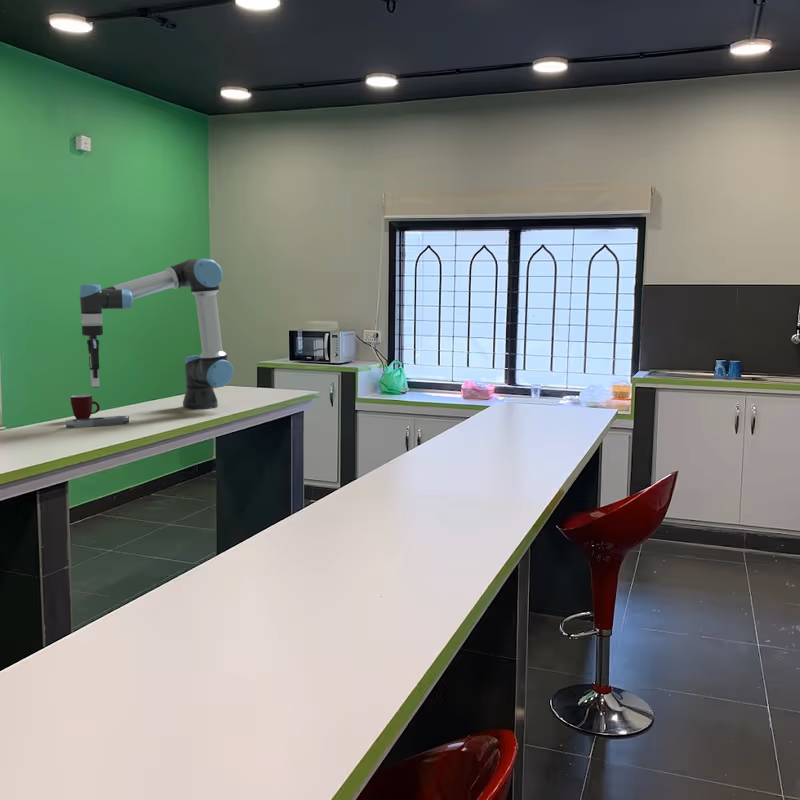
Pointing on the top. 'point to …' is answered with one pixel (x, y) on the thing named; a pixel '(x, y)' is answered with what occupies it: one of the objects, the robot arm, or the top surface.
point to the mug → (83, 406)
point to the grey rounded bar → (97, 421)
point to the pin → (91, 366)
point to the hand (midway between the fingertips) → (95, 385)
